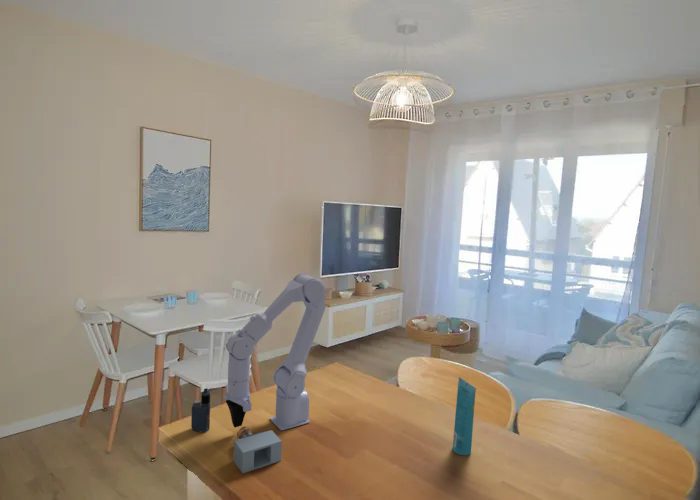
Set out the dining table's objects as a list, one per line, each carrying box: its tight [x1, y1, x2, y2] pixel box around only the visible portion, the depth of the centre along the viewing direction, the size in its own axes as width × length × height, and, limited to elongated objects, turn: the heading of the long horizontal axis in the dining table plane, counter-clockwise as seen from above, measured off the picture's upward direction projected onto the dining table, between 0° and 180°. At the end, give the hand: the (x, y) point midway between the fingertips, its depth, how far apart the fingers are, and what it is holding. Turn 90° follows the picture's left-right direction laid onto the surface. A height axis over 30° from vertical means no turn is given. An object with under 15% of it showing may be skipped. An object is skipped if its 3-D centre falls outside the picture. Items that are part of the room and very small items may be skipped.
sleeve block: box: [233, 429, 283, 474], centre depth 103 cm, size 6×10×5 cm, turn 125°
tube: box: [452, 376, 477, 456], centre depth 111 cm, size 7×5×19 cm, turn 26°
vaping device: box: [190, 387, 211, 433], centre depth 115 cm, size 3×5×12 cm, turn 78°
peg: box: [237, 425, 253, 439], centre depth 108 cm, size 7×4×4 cm, turn 35°
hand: (237, 425), depth 114 cm, fingers closed
